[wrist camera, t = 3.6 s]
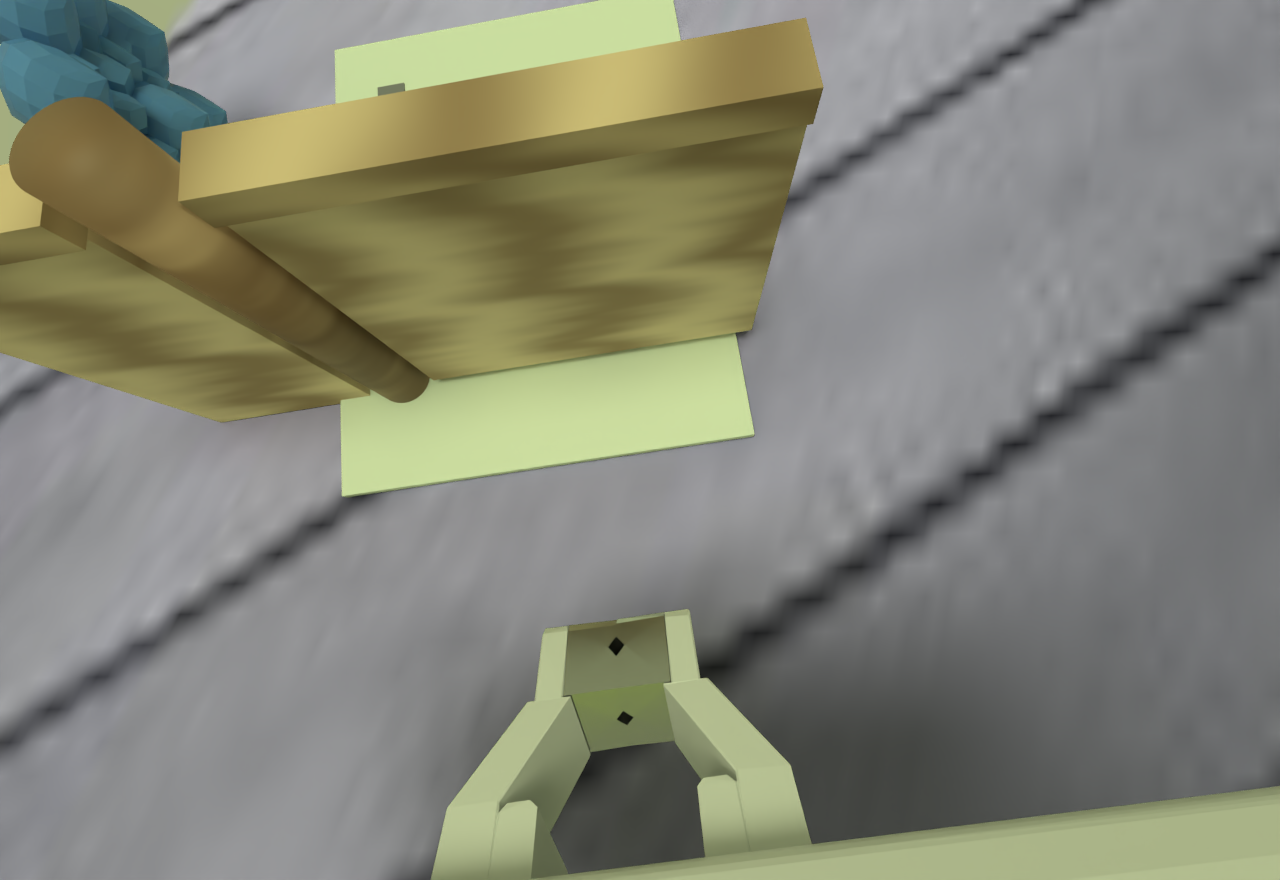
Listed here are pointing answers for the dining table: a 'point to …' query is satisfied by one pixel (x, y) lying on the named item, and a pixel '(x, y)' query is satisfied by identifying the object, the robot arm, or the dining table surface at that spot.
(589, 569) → the dining table surface
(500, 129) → the gate panel
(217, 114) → the grapes
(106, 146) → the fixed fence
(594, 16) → the board
